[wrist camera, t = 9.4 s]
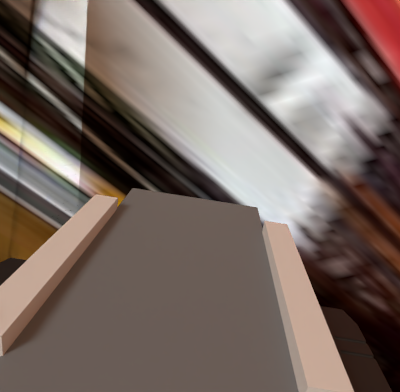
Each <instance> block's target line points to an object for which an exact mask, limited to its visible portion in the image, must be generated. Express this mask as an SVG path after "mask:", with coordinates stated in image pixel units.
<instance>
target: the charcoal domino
mask: <svg viewBox="0 0 400 392" xmlns="http://www.w3.org/2000/svg"><path fill="white" fill-rule="evenodd" d="M0 392H299V391H298V387H297V383H296V378H295V374H294V369H293V365H292V361H291V356H290V352H289V347H288V343H287V339H286V334H285V330H284V325H283V321H282V317H281V312H280V308H279V304H278V299H277V295H276V290H275V286H274V282H273V277H272V273H271V268H270V264H269V260H268V255H267V251H266V246H265V242H264V238H263V233H262V225H261V221H260V217H259V213H258V208H257V207H250V206H244V205H237V204H231V203H225V202H218V201H212V200H206V199H199V198H193V197H187V196H180V195H174V194H167V193H161V192H155V191H148V190H142V189H136V188H132V190H131V191H130V192H129V193H128V195H127V196H126V197H125V199H124V200H123V201H122V202H121V204H120V205H119V206H118V207H117V210H116V211H115V212H114V214H113V215H112V216H111V217H110V219H109V220H108V221H107V223H106V224H105V225H104V226H103V228H102V229H101V230H100V232H99V233H98V234H97V235H96V237H95V238H94V239H93V241H92V242H91V243H90V244H89V246H88V247H87V248H86V250H85V251H84V252H83V253H82V255H81V256H80V257H79V259H78V260H77V261H76V262H75V264H74V265H73V266H72V268H71V269H70V270H69V271H68V273H67V274H66V275H65V277H64V278H63V279H62V280H61V282H60V283H59V284H58V286H57V287H56V288H55V289H54V291H53V292H52V293H51V295H50V296H49V297H48V298H47V300H46V301H45V302H44V304H43V305H42V306H41V307H40V309H39V310H38V311H37V313H36V314H35V315H34V316H33V318H32V319H31V320H30V322H29V323H28V324H27V325H26V327H25V328H24V329H23V331H22V332H21V333H20V334H19V336H18V337H17V338H16V340H15V341H14V342H13V343H12V345H11V346H10V347H9V348H8V350H7V351H6V352H5V354H4V355H3V356H0Z"/></svg>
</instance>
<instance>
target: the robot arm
mask: <svg viewBox="0 0 400 392" xmlns="http://www.w3.org/2000/svg"><path fill="white" fill-rule="evenodd" d="M117 204H118V198H116V197H110V196H103V195H97V194H96V195H95V196H94V197H93V198H91V199H90V200H89V201H88V202H87V203H86V204H85V205H84V206H83V207H82V208H81V209H80V210H79V211H78V212H77V213H76V214H75V215H74V216H73V217H72V218H71V219H70V220H69V221H67V222H66V223H65V224H64V225H63V226H62V227H61V228H60V229H59V230H58V231H57V232H56V233H55V234H54V235H53V236H52V237H51V238H50V239H49V240H48V241H47V242H46V243H45V244H43V245H42V246H41V247H40V248H39V249H38V250H37V251H36V252H35V253H34V254H33V255H32V256H31V257H30V258H29V259H28V260H21V259H15V258H9V259H7V260H5V261H3V262H0V356H3V355H4V354H5V352H6V351H7V350H8V348H9V347H10V346H11V345H12V343H13V342H14V341H15V340H16V338H17V337H18V336H19V334H20V333H21V332H22V331H23V329H24V328H25V327H26V325H27V324H28V323H29V322H30V320H31V319H32V318H33V316H34V315H35V314H36V313H37V311H38V310H39V309H40V307H41V306H42V305H43V304H44V302H45V301H46V300H47V298H48V297H49V296H50V295H51V293H52V292H53V291H54V289H55V288H56V287H57V286H58V284H59V283H60V282H61V280H62V279H63V278H64V277H65V275H66V274H67V273H68V271H69V270H70V269H71V268H72V266H73V265H74V264H75V262H76V261H77V260H78V259H79V257H80V256H81V255H82V253H83V252H84V251H85V250H86V248H87V247H88V246H89V244H90V243H91V242H92V241H93V239H94V238H95V237H96V235H97V234H98V233H99V232H100V230H101V229H102V228H103V226H104V225H105V224H106V223H107V221H108V220H109V219H110V217H111V216H112V215H113V214H114V212H115V211H116V210H117ZM262 233H263V238H264V242H265V246H266V251H267V255H268V260H269V264H270V268H271V273H272V277H273V282H274V286H275V290H276V295H277V299H278V304H279V308H280V312H281V317H282V321H283V325H284V330H285V334H286V339H287V343H288V347H289V352H290V356H291V361H292V365H293V369H294V374H295V378H296V383H297V387H298V391H299V392H392V390H391V388H390V386H389V384H388V383H387V381H386V379H385V377H384V375H383V373H382V371H381V369H380V367H379V365H378V363H377V361H376V359H373V354H372V352H371V350H370V348H369V346H368V345H366V340H365V338H364V336H363V334H362V333H361V331H360V329H359V327H358V325H357V324H356V323H355V322H354V321H353V320H352V319H351V318H350V317H349V316H348V315H347V314H346V313H345V312H344V311H343V310H341V309H334V308H328V307H322V306H320V305H319V303H318V300H317V298H316V295H315V293H314V290H313V288H312V285H311V283H310V280H309V278H308V275H307V273H306V270H305V268H304V265H303V263H302V260H301V258H300V255H299V253H298V251H297V248H296V246H295V243H294V241H293V238H292V236H291V233H290V231H289V228H288V226H287V224H281V223H275V222H269V221H264V226H263V230H262Z"/></svg>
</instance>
